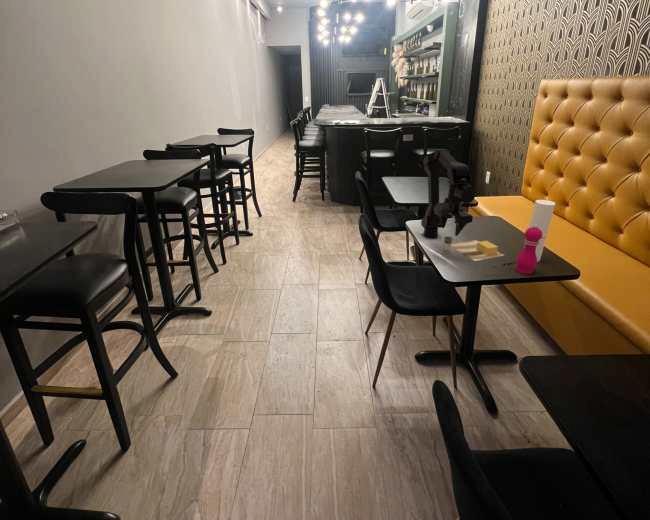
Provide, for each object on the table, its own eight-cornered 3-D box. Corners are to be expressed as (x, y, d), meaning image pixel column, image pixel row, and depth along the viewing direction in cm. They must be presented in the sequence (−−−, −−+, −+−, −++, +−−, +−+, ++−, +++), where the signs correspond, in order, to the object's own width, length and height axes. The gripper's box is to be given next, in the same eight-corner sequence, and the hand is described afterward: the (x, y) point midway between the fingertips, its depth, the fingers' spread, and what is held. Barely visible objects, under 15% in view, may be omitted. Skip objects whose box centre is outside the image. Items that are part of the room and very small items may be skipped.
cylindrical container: (538, 256, 169) (553, 200, 158) (541, 262, 163) (556, 205, 152) (520, 253, 171) (534, 199, 160) (522, 260, 165) (536, 204, 154)
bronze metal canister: (440, 253, 171) (443, 237, 167) (446, 252, 172) (449, 236, 168) (445, 256, 168) (447, 239, 165) (451, 255, 169) (454, 238, 166)
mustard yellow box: (475, 249, 171) (477, 242, 170) (484, 247, 173) (486, 240, 171) (487, 255, 165) (488, 248, 164) (496, 254, 167) (498, 246, 166)
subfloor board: (447, 247, 177) (447, 244, 176) (475, 242, 182) (475, 239, 181) (473, 264, 162) (474, 261, 161) (503, 258, 167) (504, 255, 166)
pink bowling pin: (536, 275, 153) (549, 228, 144) (516, 274, 154) (528, 226, 145) (531, 267, 159) (543, 221, 150) (512, 266, 160) (523, 220, 151)
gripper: (425, 192, 164) (421, 226, 171) (453, 205, 148) (447, 242, 155) (447, 189, 167) (442, 223, 174) (476, 202, 152) (470, 238, 159)
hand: (449, 231), depth 165 cm, fingers open, 9 cm apart
